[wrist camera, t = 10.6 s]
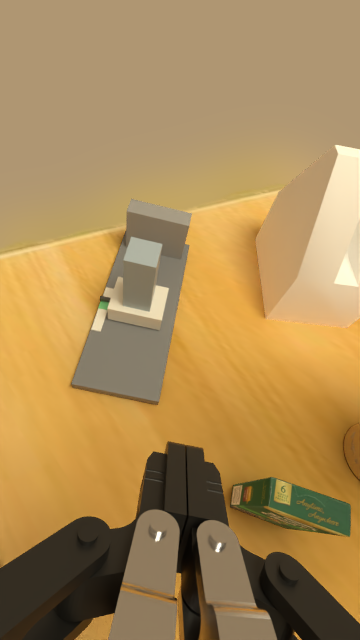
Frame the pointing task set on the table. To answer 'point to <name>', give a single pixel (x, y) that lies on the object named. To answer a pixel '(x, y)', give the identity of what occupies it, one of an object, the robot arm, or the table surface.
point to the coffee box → (292, 506)
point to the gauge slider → (139, 287)
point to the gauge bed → (131, 340)
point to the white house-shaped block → (314, 244)
